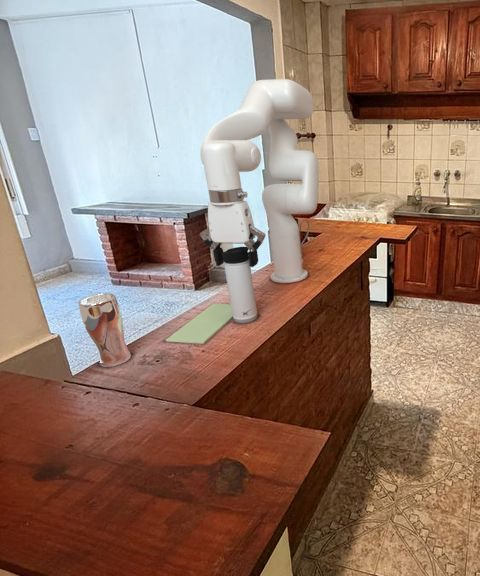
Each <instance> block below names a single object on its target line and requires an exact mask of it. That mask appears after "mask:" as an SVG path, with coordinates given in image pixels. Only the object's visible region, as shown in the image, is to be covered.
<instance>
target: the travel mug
mask: <svg viewBox="0 0 480 576" xmlns="http://www.w3.org/2000/svg"><path fill="white" fill-rule="evenodd" d="M248 252H249V249H248V248H247V247H246V246H237V247H232V248H228V249H227V250H225V251H223V252H222V254H223V260H224V263H223V267H224V273H225V278H226V284H227V289H228V295H229V302H230V304H231V307H232V313H233V318H232V319H233V321H234V322H235V323H237V324H248V323H251V322H254V321H255V320H257V319H258V316H259V315H258V308H257V302H256V301H257V300H256V296H255V295H256V293H255V288H254V282H253V281H254V280H253V275H252V267H250V264H249V258H248Z"/></svg>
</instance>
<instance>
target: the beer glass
mask: <svg viewBox="0 0 480 576" xmlns="http://www.w3.org/2000/svg"><path fill="white" fill-rule="evenodd" d="M77 305H78V308H79V314H80V318H81V320H82V324H83V326H84V328H85V330H86V333H87V334H88V335H89V337H90V339H91V341H92V342H93V344H94V346H95V348H96V351H97V354H98V364H99V366H100V367H103V368H111V367H117V366H120V365H122V364H124V363H126V362H128V361H129V360H130V359H131V358H132V354H131V352H130V350H129V348H128V346H127V343H126V340H125V327H124V317H123V314H122V310H121V308H120V304H119V302H118V300H117V298H116V294H115V293H113V292H112V293H111V292H102V293H96V294H91V295H88V296H85V297H83V298H81V299H79V300H78V301H77ZM102 359H103V360H102ZM99 361H100V362H99Z"/></svg>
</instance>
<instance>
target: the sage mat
mask: <svg viewBox="0 0 480 576" xmlns="http://www.w3.org/2000/svg"><path fill="white" fill-rule="evenodd" d="M232 319H233V313H232V307H231V303H220V302H219V303H215V302H213V303H212V304H211V305H209V306H208V307H206V309H204V310H202V311H201V312H200V313H198V314H197V315H196V316H195V317H193V318H192V319H191V320H189V321H188V322H186V323H185V324H184V325H183V326H181V327H180V328H179V329H177V330H176V331H175V332H174V333H173V334H171V335H170V336H169V337H167V338H165V342H167V343H183V344H199V345H200V344H201V345H204V344H205V343H206V342H207V341H209V340H210V339H211V338H212V337H213V336H215V334H217V333H218V332H219V331H220V330H221V329H222V328H223V327H224V326H226V325H227V324H228V323H229V322H231V320H232Z"/></svg>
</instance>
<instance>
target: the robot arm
mask: <svg viewBox="0 0 480 576" xmlns="http://www.w3.org/2000/svg"><path fill="white" fill-rule="evenodd" d="M240 103H241V104H240V105H239V107H238V109H237V110H235V111H234V112H231V113H230V114H228V115H227V116H225V117H224V118H222V119H220V120H219V121H218V122H216V123H215V124H213V125H212V126H211V128H209V130H208V132H207V133H206V135H205V137H204V139H203V141H202V143H201V147H200V152H199V153H200V160H201V164H202V165H203V166H204V167H203V169H204V173H205V180H206V186H207V191H208V196H209V202H208V204H207V220H208V226H207V228H205V229H203V231H201V232H200V233H199V236H200V238H201V240H203V241H204V243H205V245H207V246H208V247H209V249H210V251H212V253H213V258H214V262H215V266H216V267H220V266H222V265H224V260H223V254H222V252H224V249H223V247H221V246H222V244H234V245H235V244H238V245H239V244H240V245H241V244H242V245H243V244H244V247H247V248H248V258H249V264H250V268H254V267H256V265H258V263H259V255H258V250H259V248H260V247H261V245H263V243H264V240H265V238H266V236H267V235H266V233H265V232H263V231H261V229H258V228H257V227H255V224H254V220H253V215H252V211H251V209H250V205H249V203H248V201H247V200H244V199H245V198H248V192H247V191H243V187H242V181H241V175H240V174H241V173H248V172H254V171H255V170H256V169H258V167H260V164H261V161H262V153H261V151H260V149H259V147H258V146H257V145H256V143H254V142H253V141H250V140H252V139H255V138H258V137H259V136H262V135H263V134H265V133H266V132H267V131H268V132H269V135H270V137H269V138H270V142H269V144H270V145H269V159H268V160H269V161H268V163H269V164H268V170H269V174H270V177H271V178H272V179H273V180H276V181H280V182H301V183H272V184H268V185H267V186H265V187H264V188H263V190H262V193H261V201H262V204H263V208H264V211H265V215H266V218H267V223H268V230H269V238H270V247H271V255H272V262H273V270H274V271H273V272H272V273H271V274H270V275H269V276H270V280H271V281H273V282H275V283H278V284H290V283H297V282H300V281H303V280H305V279H306V278H307V277H308V276H309V275H308V271H307V270H306V269H303V268H304V267H303V263H304V259H303V257H301V251H302V247H301V248H300V241H301V236H300V237H299V230H300V226H299V227H298V224H299V223H298V224H297V222H296V221H295V219H294V218H295V217H294V216H293V215H312V214H313V213H315V212H316V210H317V207H318V200H319V185H320V184H319V182H320V162H319V160H318V156H317V155H316V154H315V152H313V151H312V150H307V149H306V150H304V149H303V150H302V149H298V135H297V134H296V132H295V131H294V129H293V128H292V126H291V125H290V124H289V123H288V122H287V120H306V119H309V118H311V117H312V115H313V113H314V109H315V104H314V99H313V96H312V94H311V93H310V91H309V90H308V89H307V87H304V86H302V85H301V84H299V83H298V82H296V81H294V80H292V79H288V78H275V79H274V78H273V79H272V78H271V79H259V80H255V81H253V82H252V83H251V84H250V86H249V87H248V90H247V91H246V94H245V95H244V97H243V99H242V101H241V102H240ZM256 237H257V238H256ZM255 238H256V241H255V240H254V239H255Z"/></svg>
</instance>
